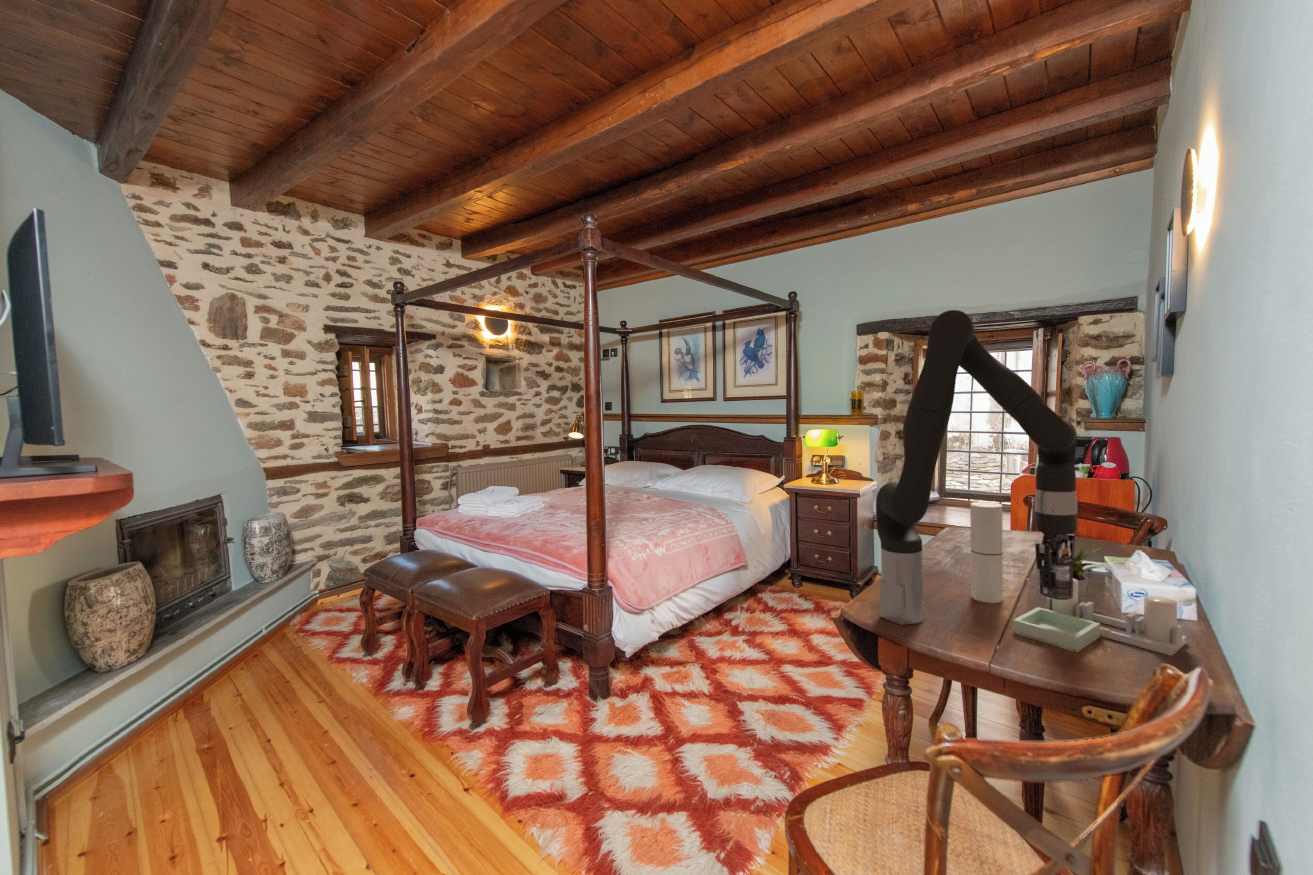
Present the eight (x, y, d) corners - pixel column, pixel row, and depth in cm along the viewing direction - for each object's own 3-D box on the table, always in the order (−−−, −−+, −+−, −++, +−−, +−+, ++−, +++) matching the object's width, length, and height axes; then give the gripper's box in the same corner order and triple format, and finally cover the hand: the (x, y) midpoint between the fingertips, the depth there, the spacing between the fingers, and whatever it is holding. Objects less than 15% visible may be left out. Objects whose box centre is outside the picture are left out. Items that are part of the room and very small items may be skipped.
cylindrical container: (971, 600, 140) (971, 506, 139) (970, 591, 147) (969, 501, 145) (1004, 604, 137) (1003, 507, 135) (1001, 594, 143) (1000, 502, 142)
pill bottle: (1048, 589, 123) (1047, 540, 122) (1078, 596, 118) (1078, 546, 117) (1034, 594, 120) (1033, 545, 119) (1064, 602, 115) (1064, 551, 114)
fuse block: (1171, 655, 108) (1172, 609, 107) (1041, 619, 127) (1041, 580, 126) (1186, 643, 112) (1186, 599, 112) (1058, 610, 132) (1058, 572, 131)
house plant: (1017, 594, 143) (1017, 534, 142) (1052, 585, 148) (1052, 527, 147) (1075, 612, 130) (1075, 546, 129) (1111, 602, 135) (1112, 539, 134)
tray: (1076, 652, 111) (1076, 638, 111) (1013, 632, 121) (1013, 619, 121) (1100, 636, 117) (1100, 623, 117) (1037, 619, 127) (1037, 606, 127)
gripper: (1061, 517, 110) (1061, 597, 112) (1089, 507, 118) (1089, 581, 119) (1021, 512, 117) (1021, 587, 118) (1050, 502, 124) (1050, 573, 126)
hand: (1055, 584), depth 119 cm, fingers closed on pill bottle, 6 cm apart
